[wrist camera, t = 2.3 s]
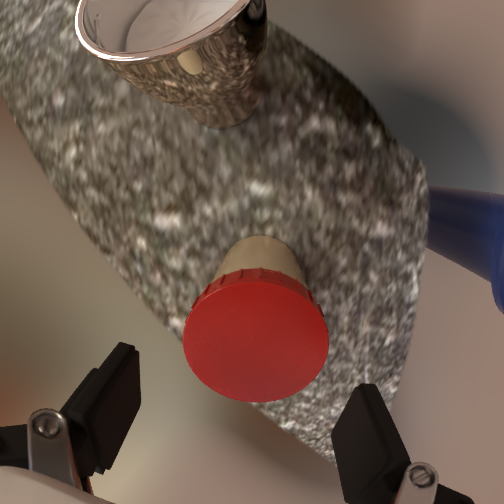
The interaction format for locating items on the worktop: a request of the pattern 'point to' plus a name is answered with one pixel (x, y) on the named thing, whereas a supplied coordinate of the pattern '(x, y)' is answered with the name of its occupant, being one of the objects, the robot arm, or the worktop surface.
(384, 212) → the worktop surface
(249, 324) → the red lid
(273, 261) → the jar
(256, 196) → the worktop surface
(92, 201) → the worktop surface
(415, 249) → the worktop surface
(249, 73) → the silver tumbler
